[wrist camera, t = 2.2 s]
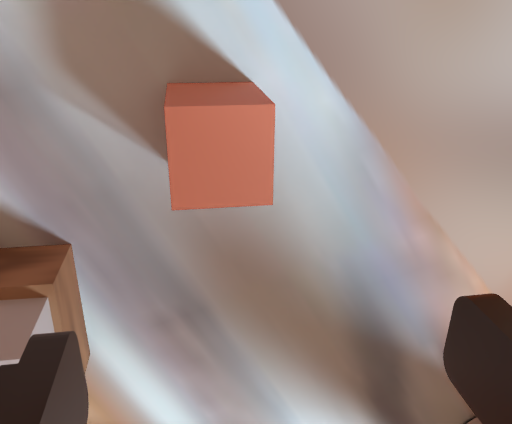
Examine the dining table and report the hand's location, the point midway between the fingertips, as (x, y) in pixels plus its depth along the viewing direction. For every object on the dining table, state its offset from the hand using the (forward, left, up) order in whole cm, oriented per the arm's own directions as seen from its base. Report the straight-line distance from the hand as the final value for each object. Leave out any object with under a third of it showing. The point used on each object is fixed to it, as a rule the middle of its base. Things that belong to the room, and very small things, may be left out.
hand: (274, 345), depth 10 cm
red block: (0, 0, -20) cm, 20 cm away
